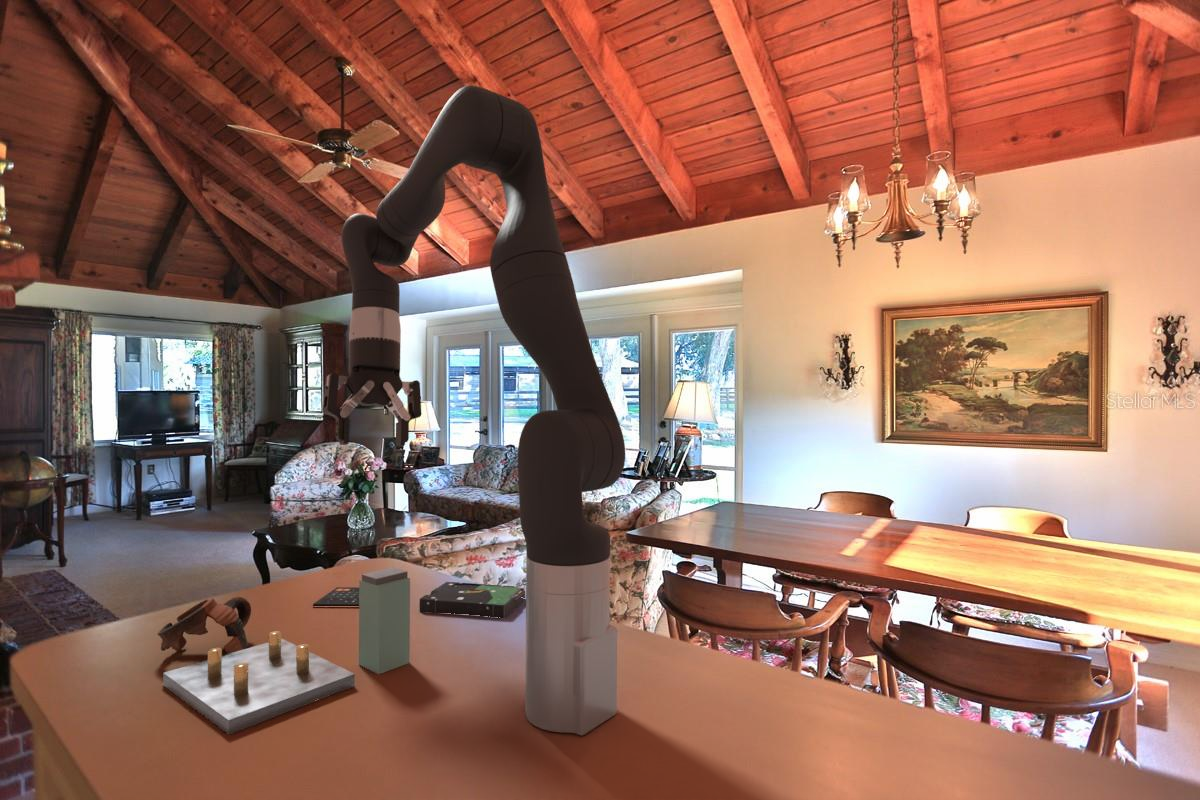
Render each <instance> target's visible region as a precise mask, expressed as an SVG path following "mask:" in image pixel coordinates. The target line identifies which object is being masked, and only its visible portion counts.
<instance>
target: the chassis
mask: <svg viewBox="0 0 1200 800" xmlns="http://www.w3.org/2000/svg"><path fill="white" fill-rule="evenodd" d="M222 650H223V648H222V647H212V648H210V649H208V651H207V659H206V660H202V661H199V662H196V663H193V664H188V665H186V666H182V667H179V668H176V669H171V670H169V671H165V672H163V673H162V674H163V675H162V686H163V687H165V688H166V689H167V690H169V691H170V692H171V693H173V694H174V695H175V696H177V698H179V699H180V700H182V701H183V702H184V701H185V703H186V704H187V705H188V706H190V707H191V708H193V709H194V710H195V711H196V710H197V711H196V712H198V713H199V714H200V713H201V714H200V715H202V716H203V715H204V716H205V717H204V716H203V717H204V718H206V720H208V719H209V720H210V721H209V720H208V721H209V722H211V723H212V724H213V723H214V724H213V725H215V724H216V725H217V726H218V727H217V726H216V725H215V726H216V727H217V728H219V729H220V730H221V729H222V730H221V731H223V732H224V731H225V732H226V733H225V732H224V733H225V734H227V735H228V736H229V735H232V734H235V733H237V732H239V731H242V730H244V729H247V728H250V727H253V726H255V725H258V724H260V723H263V722H265V721H269V720H270V719H273V718H276V717H279V716H281V715H284V714H285V712H287V713H289V712H291V711H290V710H292V711H294V709H295V710H297V709H299V708H298V707H300V708H302V707H304V706H303V705H305V704H308V703H310V704H312V703H311V702H313V701H315V700H317V699H321V698H323V697H326V696H328V695H331V694H334V695H335V693H336V694H338V693H337V692H339V693H341V692H343V691H342V690H344V691H346V690H345V689H347V690H350V689H351V687H352V688H354V687H355V685H356V684H355V678H356V677H355V676H356V674H355V672H352V671H350V670H348V669H346V668H344V667H342V666H339V665H337V664H335V663H333V662H331V661H329V660H328V659H325V658H323V657H321V656H319V655H316V654H315V653H312V652H310V645H309V644H307V643H304V644H299V645H296V644H294V643H292V642H290V641H287V640H286V639H284V638H282V631H280V630H275V631H270V632H269V633H268V642H265V643H261V644H257V645H254V646H251V647H247V648H246V649H244V650H240V651H237V652H233V653H230V654H228V653H226V654H223V653H222V652H223V651H222ZM340 691H341V692H340ZM331 696H332V695H331ZM328 697H329V696H328ZM326 698H327V697H326ZM323 699H324V698H323ZM321 700H322V699H321ZM315 702H316V701H315ZM313 703H314V702H313ZM308 705H309V704H308ZM301 706H302V707H301ZM305 706H306V705H305ZM296 708H297V709H296ZM288 711H289V712H288ZM283 713H284V714H283ZM280 714H281V715H280ZM278 715H279V716H278Z"/></svg>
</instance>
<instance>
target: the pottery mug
mask: <svg viewBox="0 0 1200 800" xmlns="http://www.w3.org/2000/svg"><path fill="white" fill-rule="evenodd" d="M236 610H237V611H236ZM251 614H252V606H251V603H250V602H249V600H247V599H246V598H245V597H242V596H236V597H232V598H231V599H229V600H227V601H226V602H225V603H223V604H221V603H217V601H216V600H215V598H214V597H210V598H207V599H204V600H202V601H200V602H198V603H197V604H195V605H194V606H192V607H190V608H189V609H187V610H186V611H185V612H182V613H181V614H180V615H178V616H177V618H176V621H177V622H176V623H174V624H173V622H169V623H167V624H165V625H164V626H162V628H161V629H160V630H159V631H158V633H157V635H158V636H159V637H160V638H161V643H160V650H161V652H165V651H166V650H169V649H171V648H172V650H174V651H176V652H178V653H179V652H182V649H184V647H185V646H186V644H187V639H186V637H184V633H185V634H187V635H197V636H202V635H205V634H208V632H209V631H208V629H207V627H206V625H207V620H208V619H207V618H208V617H209V618H211V619H212V620H213V621H214V622H215V623H216V624H218V625H219V626H222V627H224V629H225V632H226V636H227V637H228V638H229V637H231V638H232V639H230V640H229V641H228V642H227V643H226V644H224V645H223V649H224V650H225V651H224V652H226V654H230V653H233V652H237V651H240V650H244V649H247V648H249V642H248V639H247V635H246V631H245V627H246V625H247V624H248V622H249V620H250V618H251Z"/></svg>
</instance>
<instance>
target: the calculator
mask: <svg viewBox="0 0 1200 800" xmlns="http://www.w3.org/2000/svg"><path fill="white" fill-rule="evenodd" d="M313 606H359V587H354V586H353V587H350V586H347V587H346V586H345V587H344V586H340V587H339V586H338V587H335V588H334V589H333V590H331V591H330V592H327V594H325V595H324V596H322V597H321V598H320V599H319V598H318V600H317V601H315V602H314V603H313V604H312V607H313Z"/></svg>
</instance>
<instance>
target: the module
mask: <svg viewBox="0 0 1200 800" xmlns="http://www.w3.org/2000/svg"><path fill="white" fill-rule="evenodd" d="M408 574H409V573H408V571H407V570H404V569H401V568H397V567H393V566H392V567H388V568H384V569H380V570H376V571H371V572H367V573H364V574H362V575H361V579H359V580H358V581H359V585H358V586H359V608H358V666H360V665H361V666H360V667H362V666H363V667H362V668H364V667H365V668H364V669H366V668H367V670H368V669H369V671H370V672H373V673H375V674H377V675H381V674H383V673H386V672H389V671H391V670H394V669H396V668H397V669H398V668H399V667H402V666H404V665H405V666H406V665H407V664H409V663H410V653H411V652H410V648H411V647H410V643H411V642H410V641H411V634H410V633H411V623H410V622H411V618H410V617H411V578H409V577H408V576H409V575H408ZM380 673H381V674H380Z"/></svg>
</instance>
